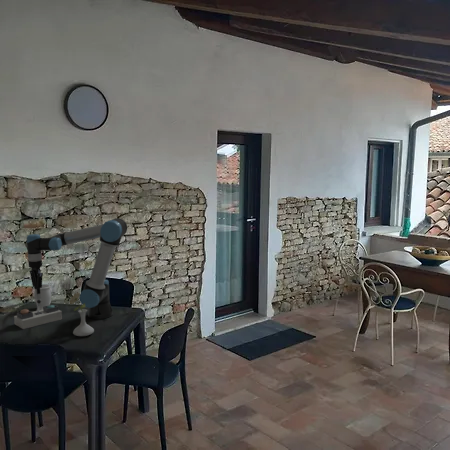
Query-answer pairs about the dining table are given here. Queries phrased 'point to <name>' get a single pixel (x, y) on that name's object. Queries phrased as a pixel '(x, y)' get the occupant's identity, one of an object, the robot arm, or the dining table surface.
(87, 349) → the dining table surface
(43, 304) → the jar
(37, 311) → the toggle lever
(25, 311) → the terracotta button
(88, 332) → the flower in vase
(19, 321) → the console
